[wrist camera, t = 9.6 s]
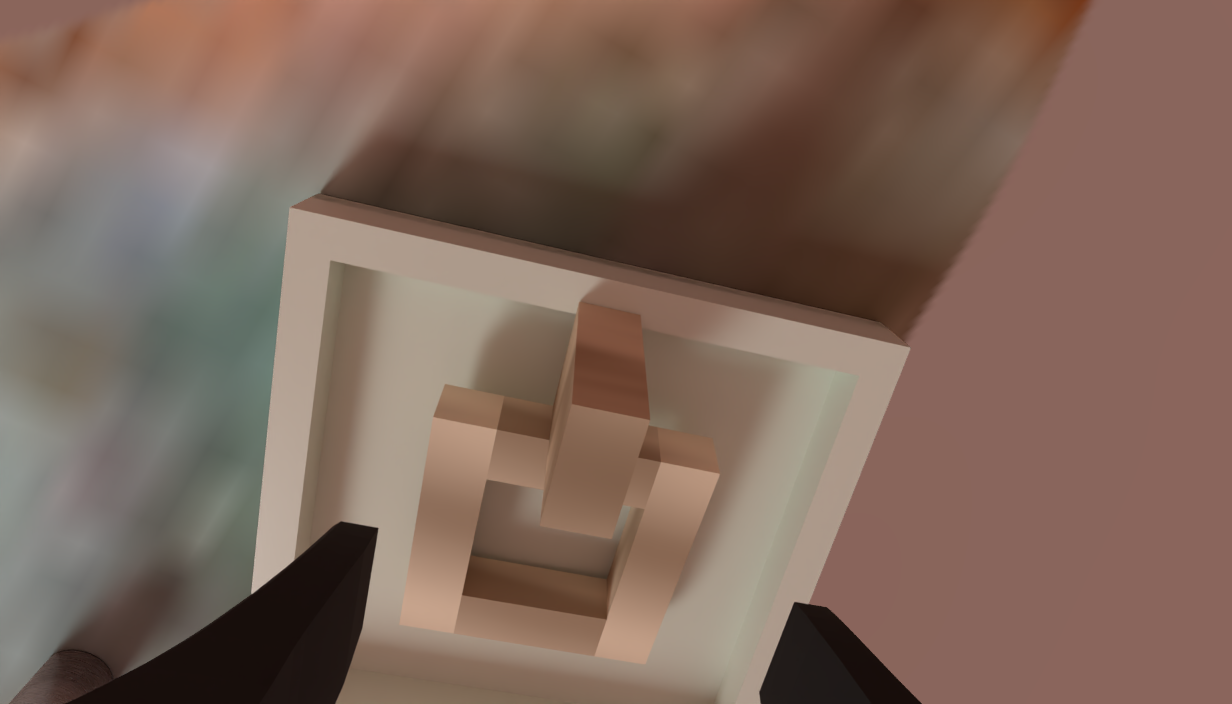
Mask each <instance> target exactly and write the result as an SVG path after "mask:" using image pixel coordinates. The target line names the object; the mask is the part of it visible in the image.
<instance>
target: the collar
mask: <svg viewBox="0 0 1232 704" xmlns="http://www.w3.org/2000/svg"><path fill="white" fill-rule="evenodd" d="M649 423H650V412H649V401H648V390H647V379H646V368H645V357H644V346H643V336H642V325H641V315H638V314H633V313H629V312H624V311H620V310H615V309H611V308H606V307H602V306H597V305H593V304H588V303H584V302H579V304H578V308H577V312H576V316H575V320H574V324H573V328H572V332H571V336H570V340H569V344H568V348H567V352H566V356H565V360H564V364H563V368H562V372H561V376H560V380H559V384H558V388H557V392H556V396H555V400H554V404H553V406H551V405H546V404H542V403H537V402H532V401H527V400H522V399H517V398H512V397H507V396H502V395H497V394H492V393H488V392H483V391H478V390H473V389H468V388H463V387H458V386H453V385H448V384H445V385H444V388H443V391H442V394H441V396H440V399H439V402H438V405H437V407H436V410H435V413H434V416H433V420H432V427H431V433H430V439H429V445H428V451H427V457H426V463H425V469H424V476H423V482H422V488H421V494H420V500H419V506H418V512H417V518H416V524H415V531H414V537H413V543H412V549H411V555H410V561H409V567H408V573H407V580H406V586H405V592H404V598H403V604H402V610H401V616H400V622H399V625H404V626H410V627H417V628H423V629H429V630H435V631H441V632H447V633H454V634H460V635H466V636H472V637H478V638H484V639H491V640H497V641H503V642H509V643H515V644H521V645H527V646H534V647H540V648H546V649H552V650H558V651H564V652H571V653H577V654H583V655H589V656H595V657H601V658H608V659H614V660H620V661H626V662H632V663H638V664H646V661H647V659H648V656H649V654H650V651H651V649H652V646H653V644H654V641H655V638H656V636H657V633H658V631H659V628H660V626H661V623H662V621H663V618H664V616H665V613H666V611H667V608H668V605H669V603H670V600H671V598H672V595H673V593H674V590H675V588H676V585H677V583H678V580H679V577H680V575H681V572H682V570H683V567H684V565H685V562H686V560H687V557H688V555H689V552H690V549H691V547H692V544H693V542H694V539H695V537H696V534H697V532H698V529H699V527H700V524H701V521H702V519H703V516H704V514H705V511H706V509H707V506H708V504H709V501H710V499H711V496H712V494H713V491H714V488H715V486H716V483H717V481H718V478H719V476H720V470H719V466H718V461H717V456H716V452H715V447H714V442H713V438H709V437H704V436H699V435H694V434H689V433H684V432H679V431H674V430H669V429H664V428H659V427H655V426H650V425H649ZM486 480H492V481H498V482H503V483H508V484H514V485H519V486H524V487H530V488H535V489H540V490H544V491H543V500H542V509H541V518H540V526H542V527H548V528H553V529H559V530H564V531H570V532H575V533H581V534H586V535H591V536H597V537H602V538H608V539H612V536H613V533H614V530H615V527H616V524H617V521H618V518H619V515H620V512H621V509H622V506H623V505H625V506H630V507H631V508H630V511H629V514H628V517H627V520H626V523H625V526H624V529H623V532H622V535H621V538H620V541H619V544H618V547H617V550H616V553H615V556H614V559H613V562H612V565H611V568H610V571H609V574H608V577H607V579H602V578H596V577H591V576H585V575H579V574H574V573H568V572H562V571H556V570H551V569H545V568H539V567H534V566H528V565H522V564H517V563H511V562H505V561H500V560H494V559H488V558H482V557H477V556H471V550H472V546H473V541H474V536H475V532H476V527H477V522H478V518H479V513H480V508H481V504H482V499H483V494H484V489H485V485H486Z"/></svg>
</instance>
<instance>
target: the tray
mask: <svg viewBox="0 0 1232 704" xmlns="http://www.w3.org/2000/svg"><path fill="white" fill-rule="evenodd" d="M579 302H584V303H588V304H593V305H597V306H602V307H606V308H611V309H615V310H620V311H624V312H629V313H633V314H638V315H641V325H642V336H643V346H644V357H645V368H646V379H647V390H648V401H649V412H650V423H649V425H650V426H655V427H659V428H664V429H669V430H674V431H679V432H684V433H689V434H694V435H699V436H704V437H709V438H713V442H714V447H715V452H716V456H717V461H718V466H719V470H720V476H719V478H718V481H717V483H716V486H715V488H714V491H713V494H712V496H711V499H710V501H709V504H708V506H707V509H706V511H705V514H704V516H703V519H702V521H701V524H700V527H699V529H698V532H697V534H696V537H695V539H694V542H693V544H692V547H691V549H690V552H689V555H688V557H687V560H686V562H685V565H684V567H683V570H682V572H681V575H680V577H679V580H678V583H677V585H676V588H675V590H674V593H673V595H672V598H671V600H670V603H669V605H668V608H667V611H666V613H665V616H664V618H663V621H662V623H661V626H660V628H659V631H658V633H657V636H656V638H655V641H654V644H653V646H652V649H651V651H650V654H649V656H648V659H647V661H646V664H638V663H632V662H626V661H620V660H614V659H608V658H601V657H595V656H589V655H583V654H577V653H571V652H564V651H558V650H552V649H546V648H540V647H534V646H527V645H521V644H515V643H509V642H503V641H497V640H491V639H484V638H478V637H472V636H466V635H460V634H454V633H447V632H441V631H435V630H429V629H423V628H417V627H410V626H404V625H399V622H400V616H401V610H402V604H403V598H404V592H405V586H406V580H407V573H408V567H409V561H410V555H411V549H412V543H413V537H414V531H415V524H416V518H417V512H418V506H419V500H420V494H421V488H422V482H423V476H424V469H425V463H426V457H427V451H428V445H429V439H430V433H431V427H432V420H433V416H434V413H435V410H436V407H437V405H438V402H439V399H440V396H441V394H442V391H443V388H444V385H445V384H448V385H453V386H458V387H463V388H468V389H473V390H478V391H483V392H488V393H492V394H497V395H502V396H507V397H512V398H517V399H522V400H527V401H532V402H537V403H542V404H546V405H551V406H553V404H554V400H555V396H556V392H557V388H558V384H559V380H560V376H561V372H562V368H563V364H564V360H565V356H566V352H567V348H568V344H569V340H570V336H571V332H572V328H573V324H574V320H575V316H576V312H577V308H578V304H579ZM910 349H911V347H910V346H908V345H907V344H906V343H905V342H904V341H902V340H901V339H900V338H899V337H898V336H897V335H895V334H894V333H893V332H892V331H891V330H889V329H888V328H887V327H886V326H885V325H883V324H882V323H881V322H877V321H873V320H868V319H864V318H860V317H855V316H851V315H846V314H842V313H838V312H833V311H829V310H825V309H820V308H816V307H812V306H807V305H803V304H798V303H794V302H790V301H785V300H781V299H777V298H772V297H768V296H764V295H759V294H755V293H750V292H746V291H742V290H737V289H733V288H729V287H724V286H720V285H716V284H711V283H707V282H702V281H698V280H694V279H689V278H685V277H681V276H676V275H672V274H668V273H663V272H659V271H654V270H650V269H646V268H641V267H637V266H633V265H628V264H624V263H620V262H615V261H611V260H606V259H602V258H598V257H593V256H589V255H585V254H580V253H576V252H572V251H567V250H563V249H558V248H554V247H550V246H545V245H541V244H537V243H532V242H528V241H524V240H519V239H515V238H510V237H506V236H502V235H497V234H493V233H489V232H484V231H480V230H476V229H471V228H467V227H462V226H458V225H454V224H449V223H445V222H441V221H436V220H432V219H428V218H423V217H419V216H414V215H410V214H406V213H401V212H397V211H393V210H388V209H384V208H380V207H375V206H371V205H366V204H362V203H358V202H353V201H349V200H345V199H340V198H336V197H332V196H327V195H323V194H316V195H314V196H312V197H310V198H308V199H306V200H304V201H302V202H300V203H298V204H296V205H294V206H292V207H290V211H289V221H288V231H287V241H286V251H285V261H284V271H283V281H282V291H281V301H280V311H279V321H278V331H277V341H276V351H275V361H274V371H273V381H272V391H271V401H270V411H269V421H268V431H267V441H266V451H265V461H264V471H263V481H262V491H261V501H260V511H259V521H258V531H257V541H256V551H255V561H254V571H253V581H252V591H251V594H253V593H254V592H255V591H257V590H258V589H259V588H260V587H262V586H263V585H264V584H265V583H267V582H268V581H269V580H271V579H272V578H273V577H274V576H276V575H277V574H278V573H279V572H281V571H282V570H283V569H284V568H286V567H287V566H288V565H289V564H291V563H292V562H293V561H294V560H295V559H296V558H298V557H299V556H300V555H301V554H302V553H304V552H305V551H306V550H307V549H308V548H309V547H310V546H312V545H313V544H314V543H315V542H316V541H317V540H318V539H319V538H320V537H322V536H323V535H324V534H325V533H326V532H327V531H328V530H329V529H330V528H331V527H332V526H334V525H335V524H337V523H339V522H340V521H343V522H349V523H354V524H360V525H365V526H371V527H377V528H379V529H378V535H377V542H376V548H375V554H374V560H373V566H372V572H371V578H370V585H369V591H368V597H367V603H366V609H365V615H364V621H363V628H362V631H361V634H360V637H359V640H358V643H357V646H356V649H355V652H354V655H353V659H352V662H351V664H350V667H349V670H348V673H347V676H346V679H345V682H344V685H343V688H342V690H341V692H340V694H339V696H338V699H337V701H336V703H335V704H761V703H760V695H759V691H760V689H761V686H762V684H763V681H764V678H765V676H766V673H767V671H768V668H769V665H770V663H771V660H772V658H773V655H774V653H775V650H776V647H777V645H778V642H779V640H780V637H781V635H782V632H783V629H784V627H785V624H786V622H787V619H788V617H789V614H790V611H791V609H792V606H793V604H794V602H799V603H805V604H809V602H810V599H811V597H812V594H813V592H814V590H815V587H816V585H817V582H818V580H819V577H820V574H821V572H822V570H823V567H824V565H825V562H826V560H827V557H828V555H829V552H830V550H831V547H832V545H833V542H834V540H835V537H836V535H837V532H838V530H839V527H840V525H841V522H842V519H843V517H844V515H845V512H846V510H847V507H848V504H849V502H850V500H851V497H852V494H853V492H854V489H855V487H856V484H857V481H858V479H859V477H860V474H861V472H862V469H863V467H864V464H865V462H866V459H867V457H868V454H869V452H870V449H871V447H872V444H873V442H874V439H875V437H876V434H877V432H878V429H879V427H880V424H881V422H882V419H883V417H884V414H885V412H886V409H887V407H888V404H889V402H890V399H891V396H892V394H893V392H894V389H895V387H896V384H897V382H898V379H899V377H900V374H901V372H902V369H903V367H904V364H905V361H906V359H907V357H908V354H909V352H910ZM543 491H544V490H540V489H535V488H530V487H524V486H519V485H514V484H508V483H503V482H498V481H492V480H486V485H485V489H484V494H483V499H482V504H481V508H480V513H479V518H478V522H477V527H476V532H475V536H474V541H473V546H472V550H471V556H477V557H482V558H488V559H494V560H500V561H505V562H511V563H517V564H522V565H528V566H534V567H539V568H545V569H551V570H556V571H562V572H568V573H574V574H579V575H585V576H591V577H596V578H602V579H607V577H608V574H609V571H610V568H611V565H612V562H613V559H614V556H615V553H616V550H617V547H618V544H619V541H620V538H621V535H622V532H623V529H624V526H625V523H626V520H627V517H628V514H629V511H630V508H631V507H630V506H625V505H623V506H622V509H621V512H620V515H619V518H618V521H617V524H616V527H615V530H614V533H613V536H612V539H608V538H602V537H597V536H591V535H586V534H581V533H575V532H570V531H564V530H559V529H553V528H548V527H542V526H540V518H541V509H542V500H543Z"/></svg>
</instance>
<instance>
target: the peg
mask: <svg viewBox="0 0 1232 704" xmlns="http://www.w3.org/2000/svg"><path fill="white" fill-rule="evenodd" d="M110 681H112V675H111V672H110V670H109V668H108V667H107V666H106V665H105V664H104V663H103V662H102V661H101V660H100V659H98V658H97V657H95V656H93V655H91V654H89V653H86V652H82V651H75V650H68V651H62V652H59V653H56V654H54V655H53V656H51V657H50V658H49V659H48V660H47V661H46V663H45V664H44V665H43V666H42V667H41V668H40V669H39V670H38V671H37V673H36V674H35V675H34V676H33V677H32V678H31V679H30V680H29V682H28V683H27V684H26V685H25V686H24V687H23V688H22V689H21V691H20V692H19V693H18V694H17V695H16V696H15V697H14V698H13V699H12V701H11V702H10V703H9V704H65V703H67V702H70V701H72V700H74V699H76V698H78V697H80V696H82V695H84V694H86V693H88V692H90V691H92V690H94V689H96V688H98V687H100V686H102V685H104V684H106V683H108V682H110Z"/></svg>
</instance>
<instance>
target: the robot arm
mask: <svg viewBox="0 0 1232 704" xmlns="http://www.w3.org/2000/svg"><path fill="white" fill-rule="evenodd" d="M378 529H379V528H377V527H371V526H365V525H360V524H354V523H349V522H343V521H340V522H339V523H337V524H335V525H334V526H332V527H331V528H330V529H329V530H328V531H327V532H326V533H325V534H324V535H323V536H322V537H320V538H319V539H318V540H317V541H316V542H315V543H314V544H313V545H312V546H310V547H309V548H308V549H307V550H306V551H305V552H304V553H302V554H301V555H300V556H299V557H298V558H296V559H295V560H294V561H293V562H292V563H291V564H289V565H288V566H287V567H286V568H284V569H283V570H282V571H281V572H279V573H278V574H277V575H276V576H274V577H273V578H272V579H271V580H269V581H268V582H267V583H265V584H264V585H263V586H262V587H260V588H259V589H258V590H257V591H255V592H254V593H253V594H251V595H250V596H249V597H247V598H246V599H244V600H243V601H242V602H240V603H239V604H237V605H236V606H235V607H233V608H232V609H230V610H229V611H227V612H226V613H225V614H223V615H222V616H220V617H219V618H218V619H216V620H215V621H213V622H212V623H210V624H209V625H207V626H206V627H204V628H203V629H201V630H200V631H198V632H197V633H195V634H194V635H192V636H190V637H189V638H187V639H186V640H184V641H182V642H181V643H179V644H178V645H176V646H174V647H173V648H171V649H169V650H168V651H166V652H164V653H162V654H161V655H159V656H157V657H156V658H154V659H152V660H151V661H149V662H147V663H145V664H143V665H142V666H140V667H138V668H136V669H134V670H132V671H130V672H128V673H126V674H124V675H122V676H120V677H118V678H116V679H114V680H112V681H110V682H108V683H106V684H104V685H102V686H100V687H98V688H96V689H94V690H92V691H90V692H88V693H86V694H84V695H82V696H80V697H78V698H76V699H74V700H72V701H70V702H67V703H65V704H335V703H336V701H337V699H338V696H339V694H340V692H341V690H342V688H343V685H344V682H345V679H346V676H347V673H348V670H349V667H350V664H351V662H352V659H353V655H354V652H355V649H356V646H357V643H358V640H359V637H360V634H361V631H362V628H363V621H364V615H365V609H366V603H367V597H368V591H369V585H370V578H371V572H372V566H373V560H374V554H375V548H376V542H377V535H378ZM759 695H760V703H761V704H922V703H921V702H920V701H918V700H917V698H916V697H914V695H913V694H911V692H910V691H909V690H908V689H907V688H906V687H905V686H904V685H903V684H902V683H901V682H900V681H899V680H898V679H897V678H896V677H895V676H894V675H893V674H892V673H891V672H890V671H889V670H888V669H887V668H886V667H885V666H884V665H883V664H882V662H880V661H879V659H878V658H877V657H876V656H875V655H874V654H873V653H872V652H871V651H870V650H869V649H868V648H867V647H866V646H865V645H864V644H863V643H862V642H861V640H860V639H859V638H858V637H857V636H856V635H854V633H853V632H852V631H851V630H850V629H849V628H848V627H847V626H846V625H845V624H844V623H843V622H842V621H841V620H840V619H839V618H838V617H837V616H836V615H835V614H834V613H832V612H831V611H830V610H829V609H828V608H827V607H822V606H816V605H810V604H805V603H799V602H794V604H793V606H792V609H791V611H790V614H789V617H788V619H787V622H786V624H785V627H784V629H783V632H782V635H781V637H780V640H779V642H778V645H777V647H776V650H775V653H774V655H773V658H772V660H771V663H770V665H769V668H768V671H767V673H766V676H765V678H764V681H763V684H762V686H761V689H760V691H759Z"/></svg>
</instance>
